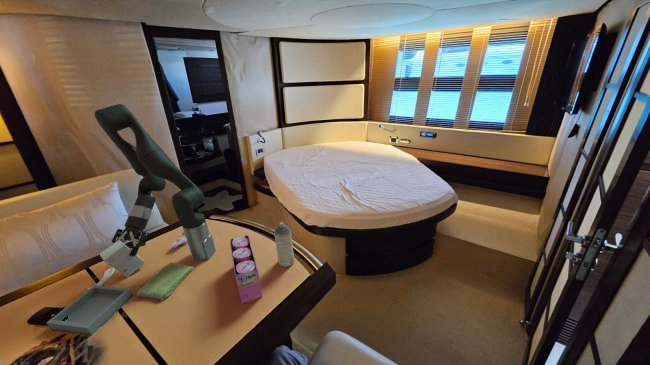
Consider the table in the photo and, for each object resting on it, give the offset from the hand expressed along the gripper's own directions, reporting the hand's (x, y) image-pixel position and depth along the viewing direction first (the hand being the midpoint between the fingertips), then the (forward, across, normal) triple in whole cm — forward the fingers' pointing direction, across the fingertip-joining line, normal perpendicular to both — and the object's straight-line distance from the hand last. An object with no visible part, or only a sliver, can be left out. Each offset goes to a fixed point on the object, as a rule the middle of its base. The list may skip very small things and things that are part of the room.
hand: (123, 255), depth 103 cm
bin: (+20, +5, -6) cm, 22 cm away
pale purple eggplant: (-10, +10, +21) cm, 25 cm away
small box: (+4, +1, +7) cm, 8 cm away
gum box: (+4, +53, +8) cm, 54 cm away
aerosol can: (-5, +66, +16) cm, 68 cm away
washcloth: (+8, +21, +5) cm, 23 cm away
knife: (+11, -9, +3) cm, 15 cm away
